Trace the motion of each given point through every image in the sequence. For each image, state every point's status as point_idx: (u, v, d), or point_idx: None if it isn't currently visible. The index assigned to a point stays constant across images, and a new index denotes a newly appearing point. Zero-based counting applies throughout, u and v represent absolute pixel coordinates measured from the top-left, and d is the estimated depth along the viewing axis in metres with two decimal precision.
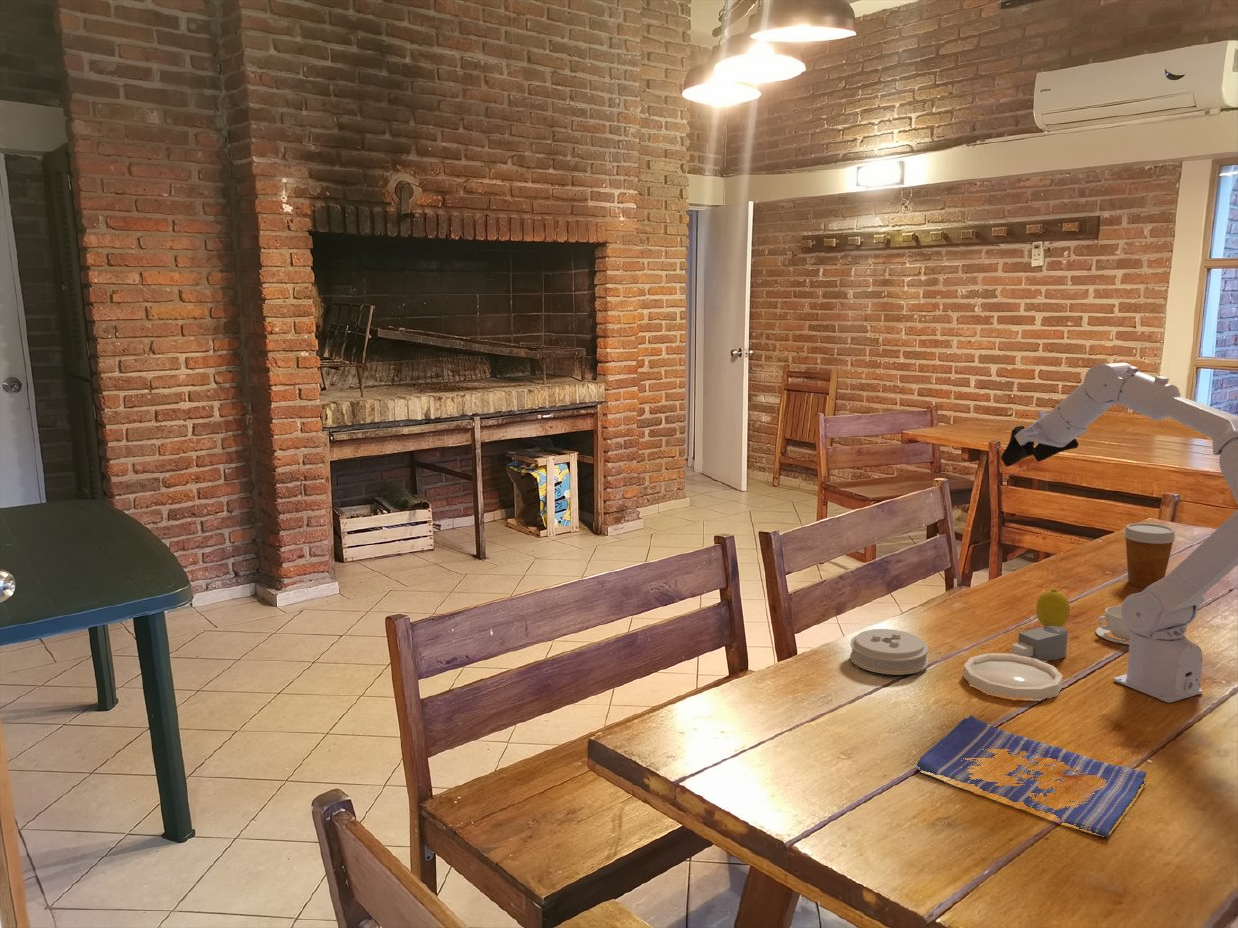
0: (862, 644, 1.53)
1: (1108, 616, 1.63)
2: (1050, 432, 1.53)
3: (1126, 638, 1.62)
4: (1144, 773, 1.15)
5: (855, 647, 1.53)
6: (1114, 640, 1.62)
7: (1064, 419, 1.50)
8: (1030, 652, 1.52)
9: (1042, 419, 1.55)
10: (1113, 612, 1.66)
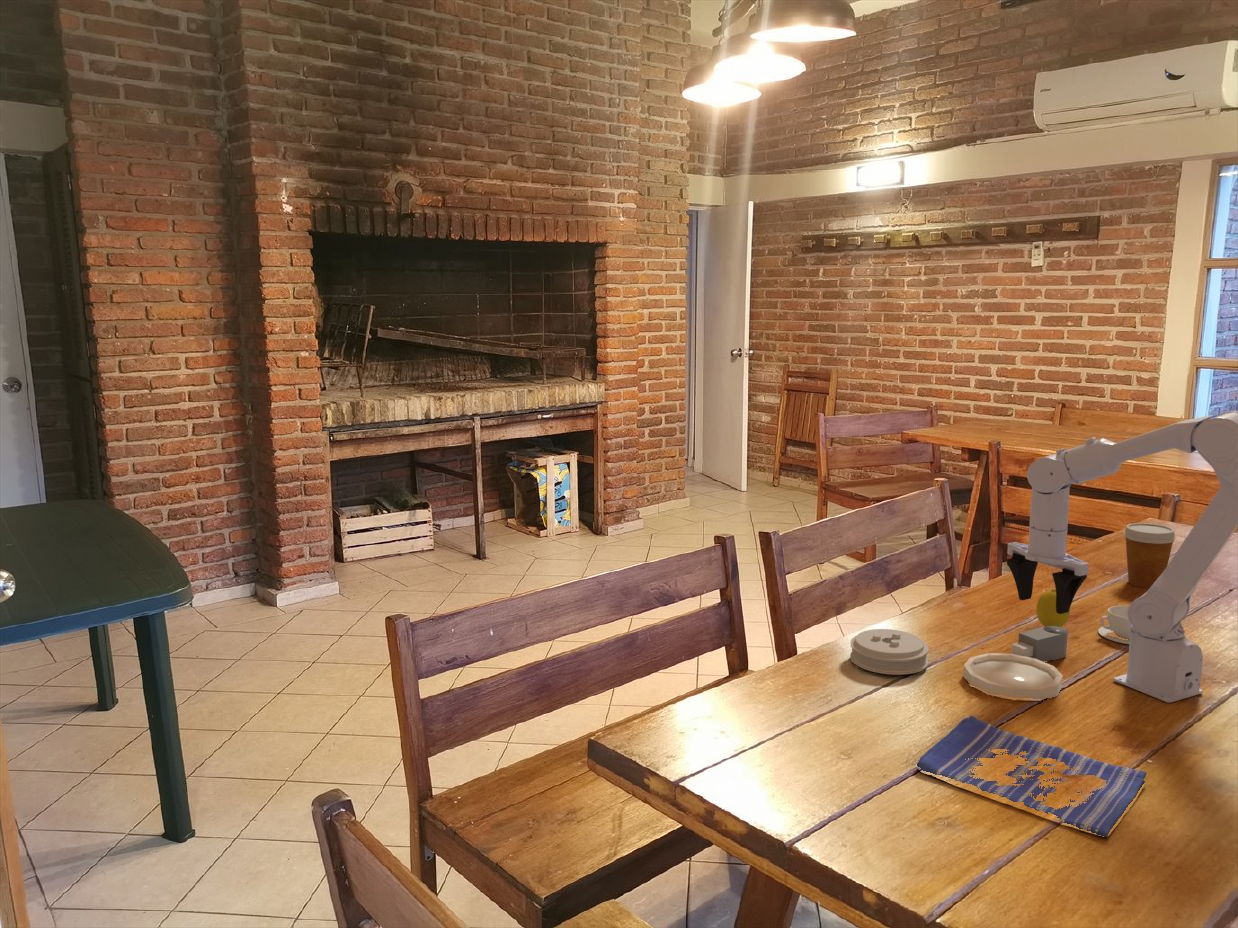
0: (862, 644, 1.53)
1: (1110, 616, 1.63)
2: (1064, 550, 1.50)
3: (1128, 638, 1.62)
4: (1144, 773, 1.15)
5: (855, 647, 1.53)
6: (1116, 639, 1.62)
7: (1065, 529, 1.49)
8: (1030, 652, 1.52)
9: (1047, 554, 1.49)
10: (1116, 612, 1.66)
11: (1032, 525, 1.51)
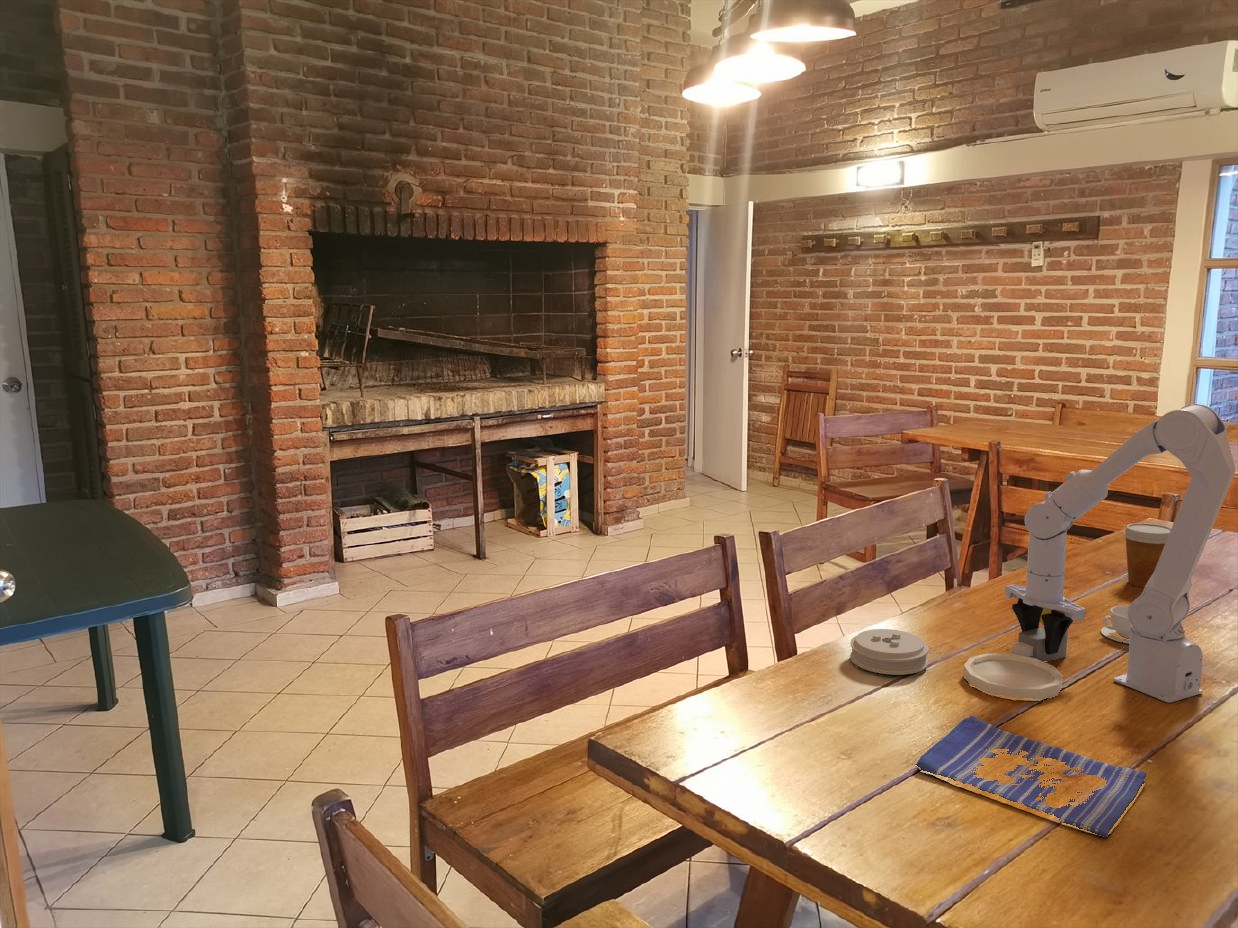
0: (862, 644, 1.53)
1: (1113, 616, 1.63)
2: (1061, 594, 1.51)
3: None
4: (1144, 774, 1.15)
5: (855, 647, 1.53)
6: (1119, 640, 1.62)
7: (1062, 574, 1.50)
8: (1030, 652, 1.52)
9: (1044, 598, 1.51)
10: (1118, 612, 1.66)
11: (1029, 570, 1.52)
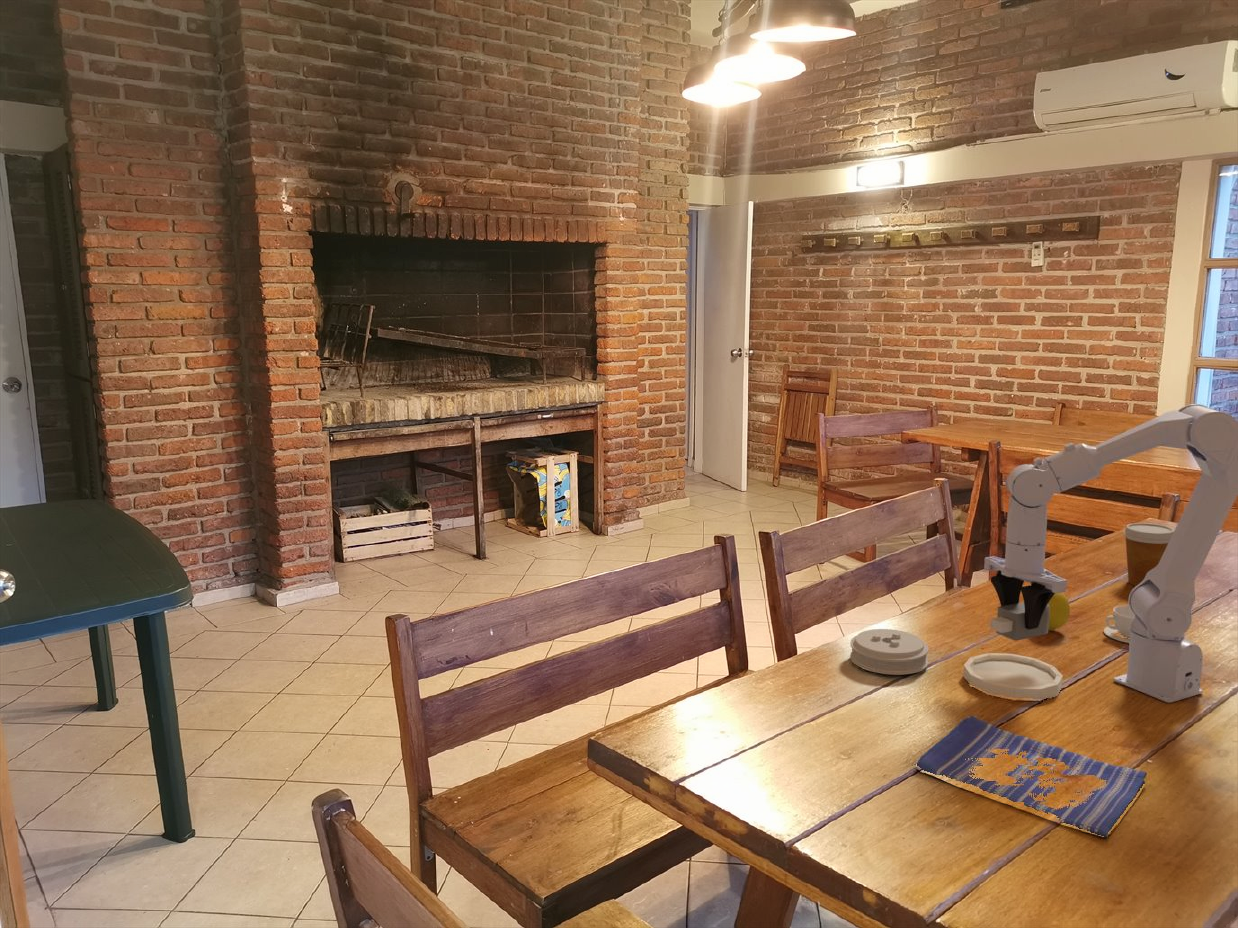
0: (862, 644, 1.53)
1: (1116, 616, 1.63)
2: (1042, 566, 1.43)
3: None
4: (1144, 773, 1.15)
5: (855, 647, 1.53)
6: (1122, 639, 1.62)
7: (1043, 543, 1.42)
8: (1009, 627, 1.44)
9: (1024, 569, 1.42)
10: (1121, 612, 1.66)
11: (1016, 541, 1.42)
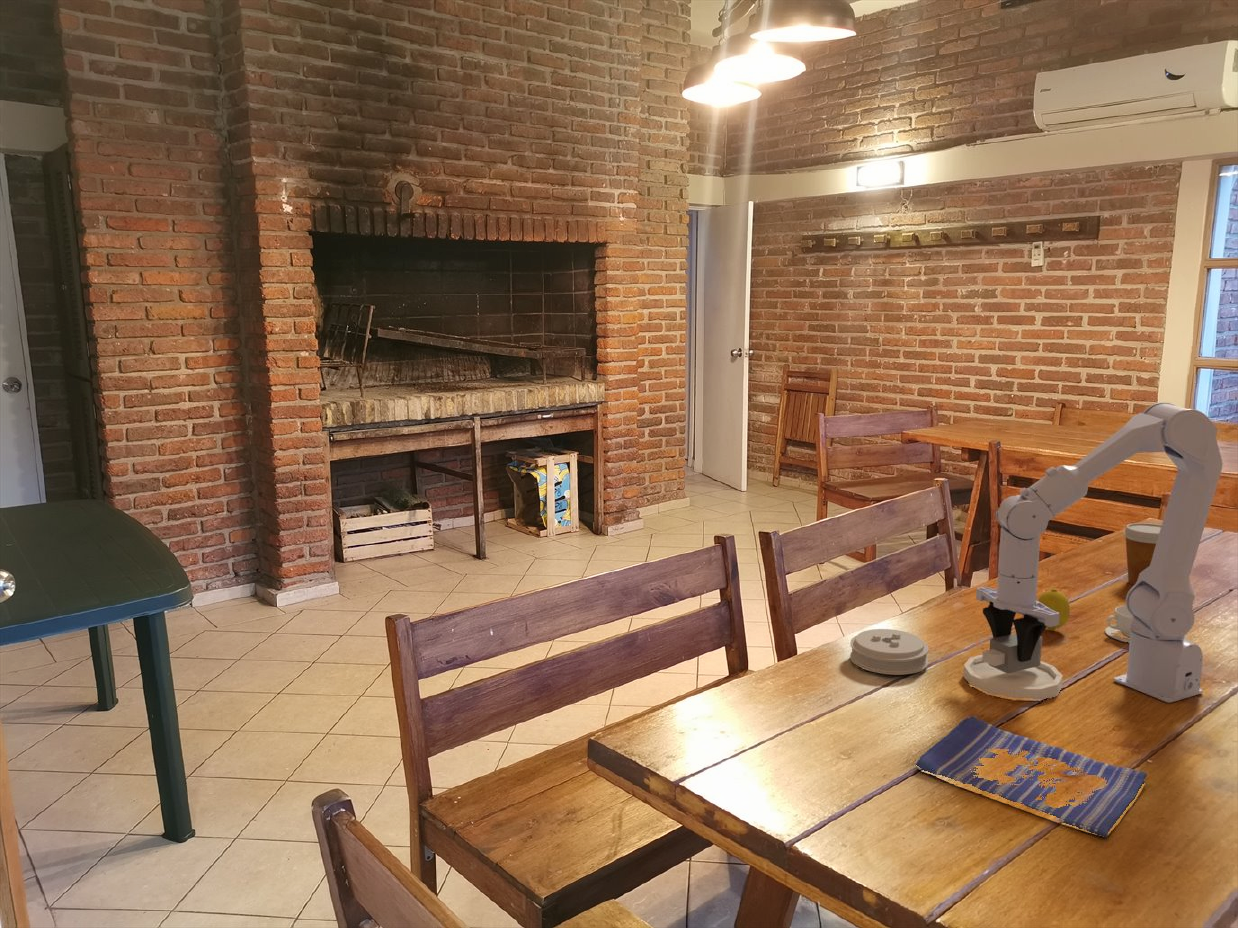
0: (862, 644, 1.53)
1: (1117, 615, 1.63)
2: (1034, 598, 1.41)
3: None
4: (1144, 774, 1.15)
5: (855, 647, 1.53)
6: (1123, 639, 1.62)
7: (1035, 576, 1.41)
8: (1001, 660, 1.43)
9: (1016, 602, 1.41)
10: (1123, 612, 1.66)
11: (1010, 574, 1.41)
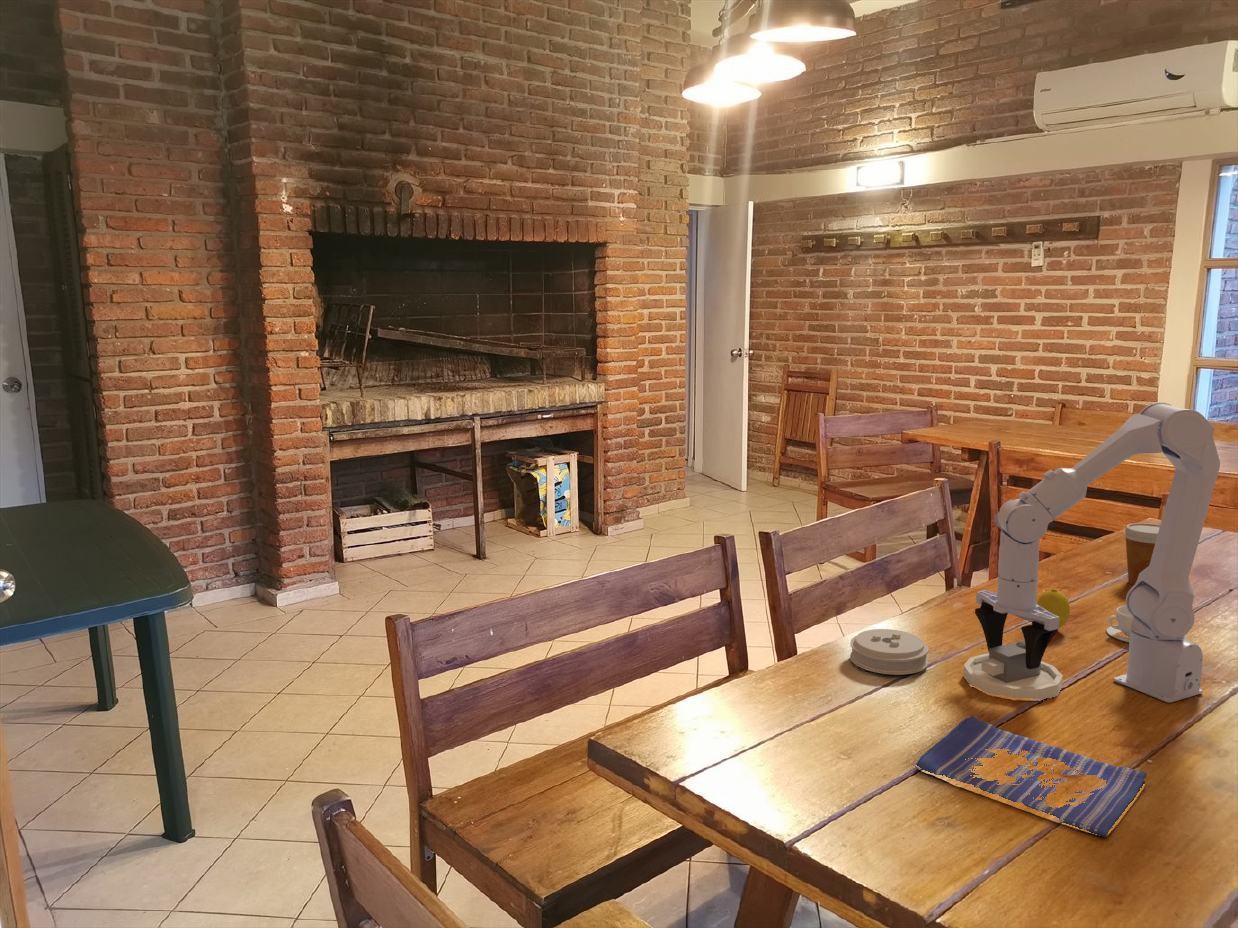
0: (862, 644, 1.53)
1: (1119, 615, 1.63)
2: (1034, 601, 1.41)
3: None
4: (1144, 774, 1.15)
5: (855, 647, 1.53)
6: (1125, 639, 1.62)
7: (1035, 579, 1.41)
8: (1000, 669, 1.43)
9: (1016, 606, 1.41)
10: (1124, 612, 1.66)
11: (1010, 578, 1.41)
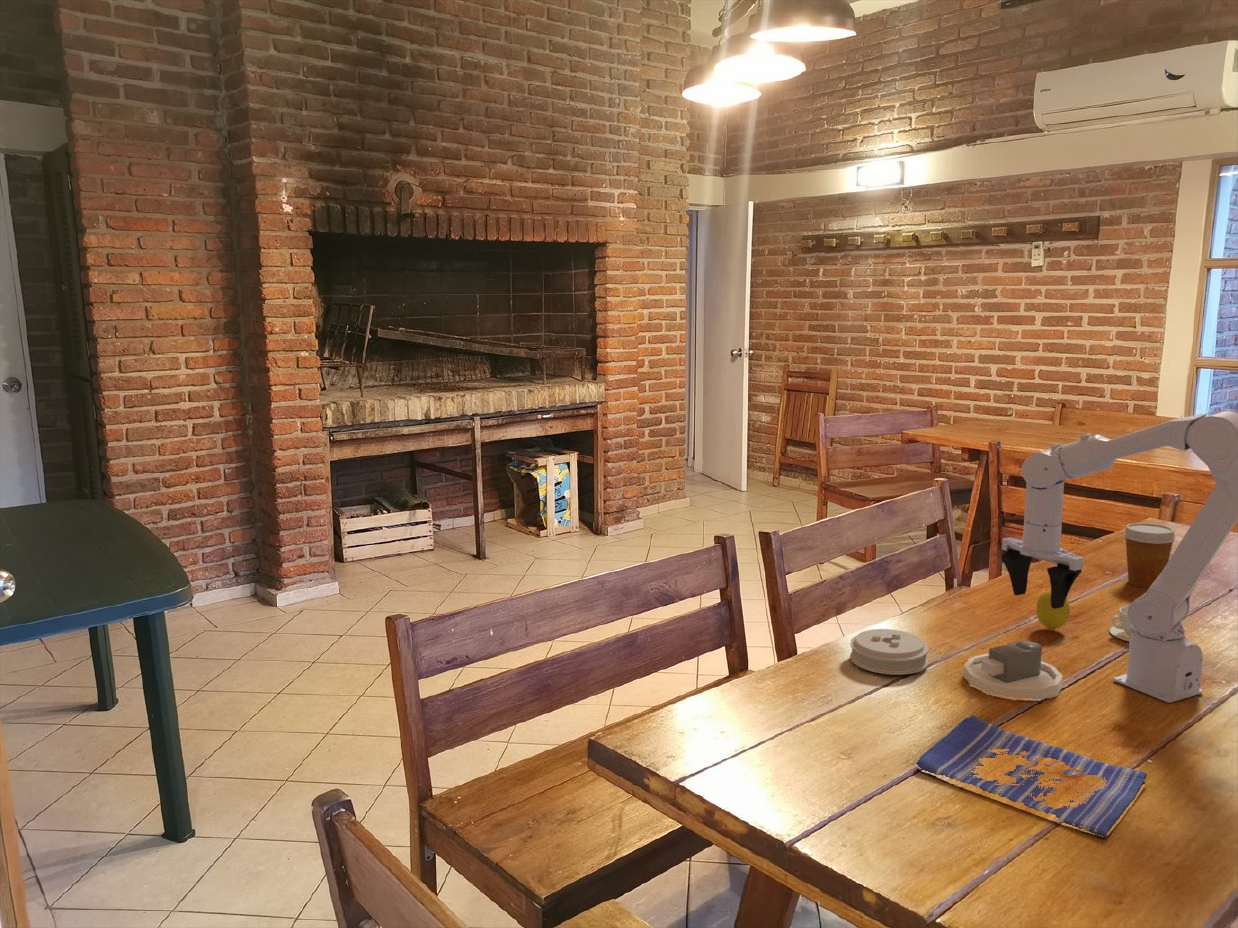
0: (862, 644, 1.53)
1: (1122, 615, 1.63)
2: (1059, 545, 1.50)
3: None
4: (1144, 774, 1.15)
5: (855, 647, 1.53)
6: (1128, 639, 1.62)
7: (1060, 524, 1.50)
8: (1000, 669, 1.43)
9: (1042, 549, 1.50)
10: (1127, 611, 1.66)
11: (1027, 520, 1.51)
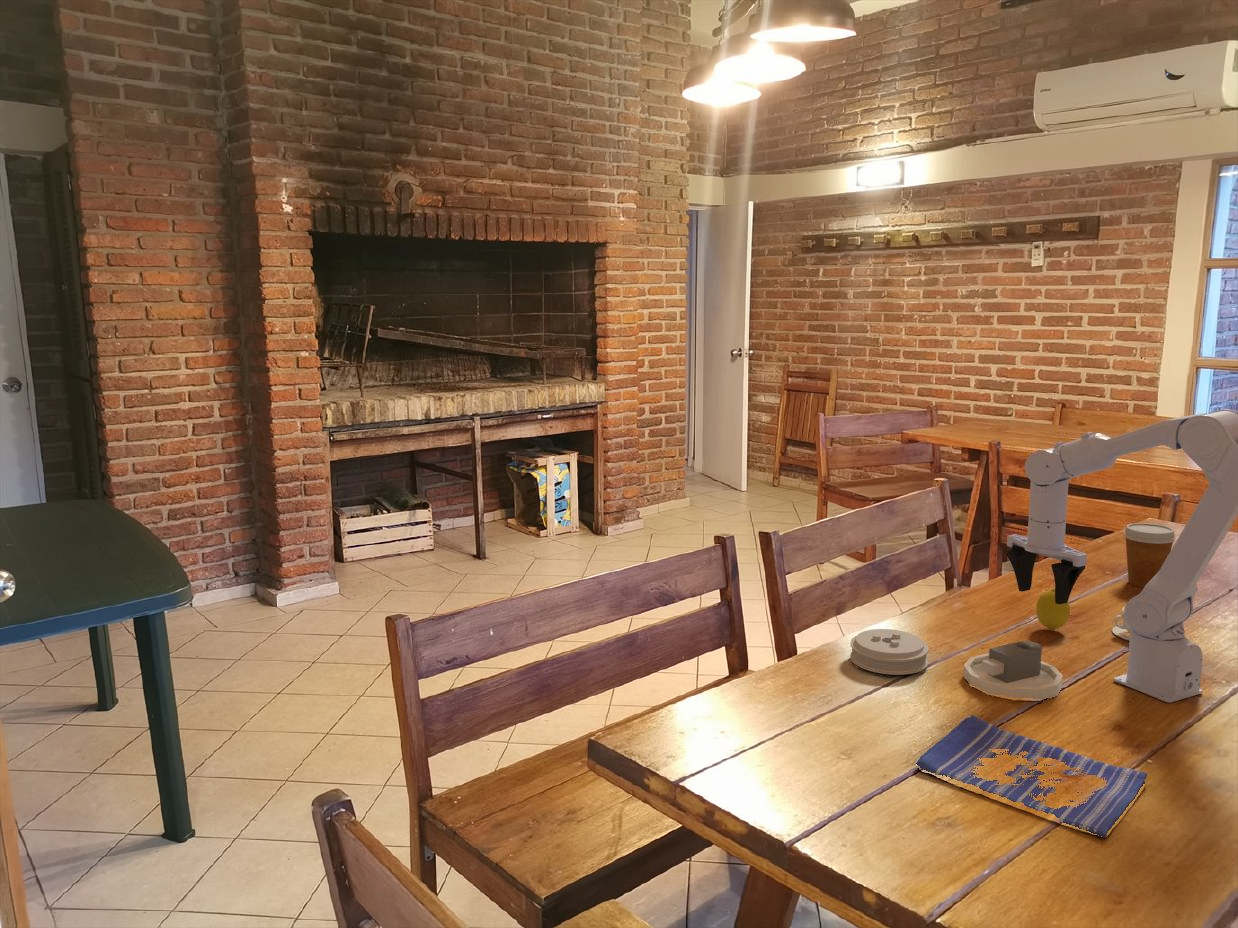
0: (862, 644, 1.53)
1: None
2: (1063, 541, 1.52)
3: None
4: (1145, 774, 1.15)
5: (855, 647, 1.53)
6: None
7: (1064, 521, 1.52)
8: (1000, 669, 1.43)
9: (1046, 545, 1.52)
10: None
11: (1030, 516, 1.54)
